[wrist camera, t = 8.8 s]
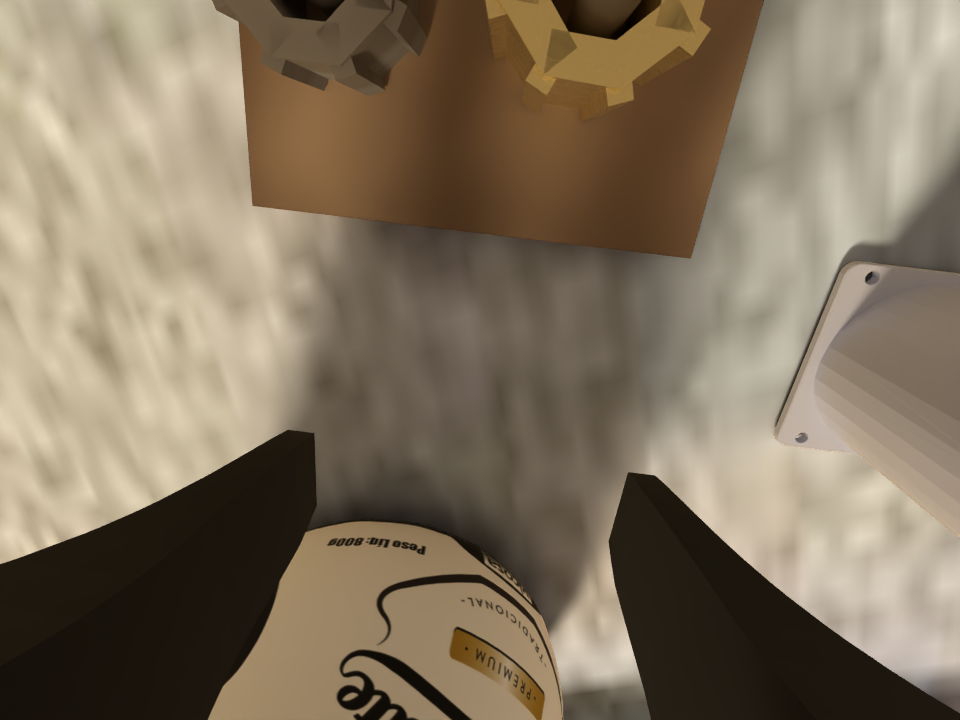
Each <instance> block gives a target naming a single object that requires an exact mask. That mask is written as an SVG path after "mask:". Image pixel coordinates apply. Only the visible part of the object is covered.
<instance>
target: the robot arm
mask: <svg viewBox="0 0 960 720" xmlns="http://www.w3.org/2000/svg"><path fill="white" fill-rule="evenodd" d="M871 271H872V272H873V274H872V277H871V279H870V280H868V281H867V282H865V277H866V275H867V274H868V273H870V272H871ZM800 433H803V434H802V435H801V436H800V437H799V438H796V436H797V435H798V434H800ZM774 437H775V439H776V440H777V441H778V442H779V443H780V444H782V445H785V446H792V447H800V448H808V449H816V450H824V451H833V452H841V453H849V454H857V455H860V456H861V457H862V458H863V459H864V460H866V461H867V462H868V463H869V464H870V465H871V466H873V467H874V468H875V469H876V470H877V471H879V472H880V473H881V474H882V475H883V476H885V477H886V478H887V479H888V480H889V481H891V482H892V483H893V484H894V485H895V486H897V487H898V488H899V489H900V490H901V491H903V492H904V493H905V494H906V495H907V496H909V497H910V498H911V499H912V500H913V501H915V502H916V503H917V504H918V505H919V506H920V507H922V508H923V509H924V510H925V511H926V512H928V513H929V514H930V515H931V516H932V517H934V518H935V519H936V520H937V521H938V522H940V523H941V524H942V525H943V526H944V527H946V528H947V529H948V530H949V531H950V532H952V533H953V534H954V535H955V536H956V537H958V538H959V539H960V273H954V272H945V271H937V270H928V269H920V268H912V267H903V266H895V265H887V264H878V263H870V262H862V261H853V262H850V263H848V264H847V265H845V266H844V267H843V268H842V270H841V271H840V273H839V275H838V278H837V280H836V283H835V285H834V287H833V290H832V292H831V295H830V297H829V300H828V302H827V304H826V307H825V309H824V312H823V314H822V317H821V319H820V321H819V324H818V326H817V329H816V331H815V334H814V336H813V338H812V341H811V343H810V346H809V348H808V351H807V353H806V355H805V358H804V360H803V363H802V365H801V368H800V370H799V372H798V375H797V377H796V380H795V382H794V385H793V387H792V389H791V392H790V394H789V397H788V399H787V401H786V404H785V406H784V409H783V411H782V414H781V416H780V418H779V421H778V423H777V426H776V428H775V431H774ZM316 505H317V499H316V469H315V439H314V433H308V432H300V431H292V430H287V431H285V432H283V433H281V434H279V435H277V436H276V437H274V438H272V439H270V440H269V441H267V442H265V443H263V444H262V445H260V446H258V447H256V448H255V449H253V450H251V451H250V452H248V453H246V454H244V455H243V456H241V457H239V458H237V459H236V460H234V461H232V462H230V463H229V464H227V465H225V466H223V467H222V468H220V469H218V470H216V471H215V472H213V473H211V474H209V475H208V476H206V477H204V478H202V479H200V480H198V481H196V482H194V483H192V484H190V485H188V486H186V487H185V488H183V489H181V490H179V491H177V492H175V493H173V494H171V495H169V496H167V497H165V498H163V499H162V500H160V501H157V502H155V503H153V504H151V505H149V506H147V507H145V508H143V509H141V510H138V511H136V512H134V513H132V514H130V515H127V516H125V517H123V518H121V519H118V520H116V521H114V522H111V523H109V524H107V525H104V526H102V527H100V528H97V529H95V530H92V531H90V532H87V533H85V534H82V535H80V536H77V537H74V538H72V539H69V540H66V541H64V542H61V543H58V544H56V545H53V546H50V547H47V548H45V549H42V550H39V551H37V552H34V553H31V554H29V555H26V556H23V557H21V558H18V559H15V560H12V561H9V562H6V563H3V564H0V720H208V718H209V716H210V713H211V711H212V709H213V707H214V705H215V703H216V700H217V698H218V696H219V694H220V692H221V690H222V687H223V685H224V683H225V681H226V679H227V676H228V674H229V672H230V670H231V668H232V666H233V664H234V661H235V660H236V658H237V656H238V654H239V652H240V650H241V648H242V646H243V644H244V642H245V641H246V639H247V637H248V635H249V633H250V632H251V630H252V628H253V627H254V625H255V623H256V621H257V620H258V618H259V616H260V614H261V613H262V611H263V609H264V607H265V606H266V604H267V602H268V601H269V599H270V597H271V595H272V594H273V592H274V590H275V588H276V587H277V585H278V583H279V581H280V580H281V578H282V576H283V574H284V573H285V571H286V569H287V567H288V566H289V564H290V562H291V560H292V559H293V557H294V555H295V553H296V551H297V550H298V548H299V546H300V544H301V542H302V539H303V537H304V535H305V532H306V530H307V528H308V525H309V523H310V520H311V518H312V515H313V513H314V510H315V508H316ZM609 548H610V555H611V563H612V569H613V576H614V582H615V587H616V591H617V594H618V598H619V602H620V605H621V609H622V613H623V616H624V620H625V624H626V627H627V631H628V634H629V638H630V641H631V645H632V649H633V652H634V656H635V659H636V663H637V666H638V670H639V673H640V677H641V681H642V684H643V688H644V691H645V696H646V700H647V704H648V708H649V712H650V717H651V720H960V713H958V712H957V711H955V710H953V709H952V708H950V707H948V706H947V705H945V704H943V703H942V702H940V701H938V700H937V699H935V698H933V697H932V696H930V695H928V694H927V693H925V692H924V691H922V690H920V689H919V688H917V687H916V686H914V685H913V684H911V683H909V682H908V681H906V680H905V679H903V678H902V677H900V676H898V675H897V674H895V673H894V672H892V671H891V670H889V669H888V668H886V667H885V666H883V665H882V664H880V663H879V662H877V661H876V660H874V659H873V658H872V657H870V656H869V655H867V654H866V653H864V652H863V651H861V650H860V649H858V648H857V647H855V646H854V645H852V644H851V643H849V642H848V641H847V640H845V639H844V638H842V637H841V636H840V635H838V634H837V633H835V632H834V631H833V630H831V629H830V628H828V627H827V626H826V625H824V624H823V623H822V622H820V621H819V620H818V619H816V618H815V617H814V616H812V615H811V614H810V613H809V612H807V611H806V610H805V609H803V608H802V607H801V606H799V605H798V604H797V603H795V602H794V601H793V600H792V599H790V598H789V597H788V596H786V595H785V594H784V593H783V592H781V591H780V590H779V589H778V588H777V587H775V586H774V585H773V584H772V583H770V582H769V581H768V580H767V579H766V578H765V577H763V576H762V575H761V574H760V573H759V572H758V571H756V570H755V569H754V568H753V567H752V566H751V565H750V564H748V563H747V562H746V561H745V560H744V559H743V558H741V557H740V556H739V555H738V554H737V553H736V552H735V551H734V550H733V549H732V548H730V547H729V546H728V545H727V544H726V543H725V542H724V541H723V540H722V539H721V538H720V537H719V536H718V535H717V534H715V533H714V532H713V531H712V530H711V529H710V528H709V527H708V526H707V525H706V524H705V523H704V522H703V521H702V520H701V519H700V518H699V517H698V516H697V515H696V514H695V513H694V512H693V511H692V510H691V509H690V508H689V507H688V506H687V505H686V504H685V503H684V502H683V501H682V500H680V499H679V498H678V497H677V496H676V495H675V494H674V493H673V492H672V491H671V490H670V489H669V488H668V487H667V486H666V485H665V484H664V483H663V482H662V481H661V480H660V479H658V478H657V477H656V476H654V475H646V474H638V473H630V472H628V475H627V478H626V482H625V485H624V489H623V492H622V496H621V500H620V503H619V507H618V510H617V514H616V517H615V521H614V524H613V528H612V532H611V535H610V539H609Z"/></svg>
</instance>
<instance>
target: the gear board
mask: <svg viewBox="0 0 960 720" xmlns="http://www.w3.org/2000/svg"><path fill="white" fill-rule="evenodd" d="M212 1H213V3H214V6H215V8H216V10H217V11H219V12H221V13H223V14H225V15H227V16H229V17H231V18H233V19H235V20H237V21H238V22H239V33H240V46H241V60H242V73H243V86H244V99H245V112H246V125H247V138H248V151H249V164H250V177H251V190H252V204H253V206H259V207H267V208H275V209H284V210H292V211H300V212H309V213H317V214H325V215H334V216H342V217H350V218H359V219H367V220H375V221H384V222H392V223H400V224H409V225H417V226H425V227H434V228H442V229H450V230H458V231H467V232H475V233H483V234H492V235H500V236H508V237H517V238H525V239H533V240H542V241H550V242H558V243H567V244H575V245H583V246H592V247H600V248H608V249H616V250H625V251H633V252H641V253H650V254H658V255H666V256H675V257H683V258H691V255H692V252H693V248H694V245H695V241H696V238H697V234H698V231H699V227H700V224H701V220H702V216H703V213H704V209H705V206H706V202H707V199H708V195H709V192H710V188H711V185H712V181H713V178H714V174H715V171H716V167H717V164H718V160H719V157H720V153H721V149H722V146H723V142H724V139H725V135H726V132H727V128H728V125H729V121H730V118H731V114H732V111H733V107H734V104H735V100H736V97H737V93H738V90H739V86H740V82H741V79H742V75H743V72H744V68H745V65H746V61H747V58H748V54H749V51H750V47H751V44H752V40H753V37H754V33H755V30H756V26H757V23H758V19H759V15H760V12H761V8H762V5H763V1H764V0H705V2H704V6H703V9H702V13H701V16H700V20H701V21H702V22H703V23H704V24H706V25H707V26H708V27H709V28H711V30H710V31H709V33H708V34H707V36H706V37H705V39H704V40H703V42H702V43H701V44H700V46H699V47H698V49H697V50H696V52H695V53H694V55H693V56H692V57H690V58H688V59H687V60H685V61H683V62H681V63H680V64H678V65H676V66H674V67H673V68H671V69H669V70H667V71H666V72H664V73H662V74H660V75H659V76H657V77H655V78H653V79H652V80H650V81H648V82H646V83H645V84H643V85H641V86H639V85H638V84H637V83H635V82H634V81H632V85H633V95H634V100H632V101H630V102H628V103H626V104H624V105H622V106H620V107H618V108H616V109H614V110H612V111H610V112H608V113H606V114H604V115H602V116H600V117H597V118H593V119H589V120H585V121H580V114H579V109H575V108H569V107H563V106H558V105H552V104H547V103H542V105H541V106H540V108H539V110H538V111H537V113H534V112H533V111H531V110H530V109H529V108H527V107H526V106H524V105H523V104H522V103H521V99H522V94H523V89H524V86H523V84H522V82H521V81H520V79H519V77H518V76H517V74H516V72H515V71H514V69H513V67H512V66H511V64H510V62H509V61H508V59H507V57H503V58H499V59H496V60H494V55H493V50H492V45H491V39H490V33H489V26H488V19H487V12H486V6H485V0H212ZM551 1H552V3H553V5H554V6H555V8H556V10H557V12H558V14H559V15H560V17H561V19H562V21H563V23H564V25H565V26H566V28H567V30H568V32H573V33H578V34H584V35H589V36H595V37H600V38H606V39H612V40H617V35H618V31H619V28H620V27H621V25H622V24H623V23H624V22H625V21H626V19H627V18H628V17H629V16H630V15H631V13H632V12H633V11H634V10H635V9H636V7H637V6H638V5H639V3H640V2H641V0H551Z"/></svg>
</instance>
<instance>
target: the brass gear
mask: <svg viewBox="0 0 960 720" xmlns="http://www.w3.org/2000/svg"><path fill="white" fill-rule="evenodd" d="M704 2H705V0H641V2H640V3H639V5H638V6H637V7H636V9H635V10H634V11H633V12H632V13H631V15H630V16H629V17H628V18H627V19H626V21H625V22H624V23H623V24H622V25H621V27H620V28H619V31H618V35H617V40H612V39H606V38H600V37H595V36H589V35H584V34H578V33H573V32H568V30H567V28H566V26H565V25H564V23H563V21H562V19H561V17H560V15H559V14H558V12H557V10H556V8H555V6H554V5H553V3H552V1H551V0H485V6H486V12H487V19H488V26H489V33H490V39H491V45H492V50H493V55H494V60H496V59H499V58H503V57H507V59H508V61H509V62H510V64H511V66H512V67H513V69H514V71H515V72H516V74H517V76H518V77H519V79H520V81H521V82H522V84H523V86H524V89H523V94H522V99H521V103H522V104H523V105H524V106H526V107H527V108H529V109H530V110H531V111H533V112H534V113H537V111H538V110H539V108H540V106H541V105H542V103H547V104H552V105H558V106H563V107H569V108H575V109H579V114H580V121H585V120H589V119H593V118H597V117H600V116H602V115H604V114H606V113H608V112H610V111H612V110H614V109H616V108H618V107H620V106H622V105H624V104H626V103H628V102H630V101H632V100H634V95H633V85H632V81H634V82H635V83H637V84H638V85H639V86H641V85H643V84H645V83H646V82H648V81H650V80H652V79H653V78H655V77H657V76H659V75H660V74H662V73H664V72H666V71H667V70H669V69H671V68H673V67H674V66H676V65H678V64H680V63H681V62H683V61H685V60H687V59H688V58H690V57H692V56H693V55H694V53H695V52H696V50H697V49H698V47H699V46H700V44H701V43H702V42H703V40H704V39H705V37H706V36H707V34H708V33H709V31H710V30H711V28H709V27H708V26H707V25H706V24H704V23H703V22H702V21H701V20H700V16H701V13H702V9H703V6H704Z"/></svg>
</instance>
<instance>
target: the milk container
mask: <svg viewBox="0 0 960 720" xmlns="http://www.w3.org/2000/svg"><path fill="white" fill-rule="evenodd" d="M208 720H563V702H562V693H561V685H560V679H559V674H558V669H557V664H556V659H555V656H554V652H553V649H552V645H551V642H550V638H549V635H548V632H547V629H546V626H545V623H544V620H543V618H542V616H541V613H540V612H539V610H538V608H537V606H536V604H535V603H534V601H533V600H532V598H531V597H530V596H529V594H528V593H527V591H526V590H525V589H524V587H523V586H522V585H521V583H520V582H519V581H518V579H517V578H516V577H515V576H514V575H513V574H512V573H511V572H510V571H509V570H508V569H507V568H506V567H504V566H503V565H502V564H500V563H499V562H498V561H497V560H495V559H494V558H493V557H491V556H490V555H489V554H487V553H486V552H484V551H483V550H481V549H480V548H478V547H477V546H475V545H474V544H472V543H470V542H467V541H465V540H463V539H461V538H458V537H456V536H453V535H450V534H447V533H445V532H442V531H439V530H436V529H434V528H431V527H427V526H423V525H420V524H415V523H408V522H400V521H388V520H374V519H359V520H352V521H345V522H340V523H336V524H331V525H327V526H322V527H318V528H315V529H312V530H308V531H306V532H305V535H304V537H303V539H302V542H301V544H300V546H299V548H298V550H297V551H296V553H295V555H294V557H293V559H292V560H291V562H290V564H289V566H288V567H287V569H286V571H285V573H284V574H283V576H282V578H281V580H280V581H279V583H278V585H277V587H276V588H275V590H274V592H273V594H272V595H271V597H270V599H269V601H268V602H267V604H266V606H265V607H264V609H263V611H262V613H261V614H260V616H259V618H258V620H257V621H256V623H255V625H254V627H253V628H252V630H251V632H250V633H249V635H248V637H247V639H246V641H245V642H244V644H243V646H242V648H241V650H240V652H239V654H238V656H237V658H236V660H235V661H234V664H233V666H232V668H231V670H230V672H229V674H228V676H227V679H226V681H225V683H224V685H223V687H222V690H221V692H220V694H219V696H218V698H217V700H216V703H215V705H214V707H213V709H212V711H211V713H210V716H209V718H208Z"/></svg>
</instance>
